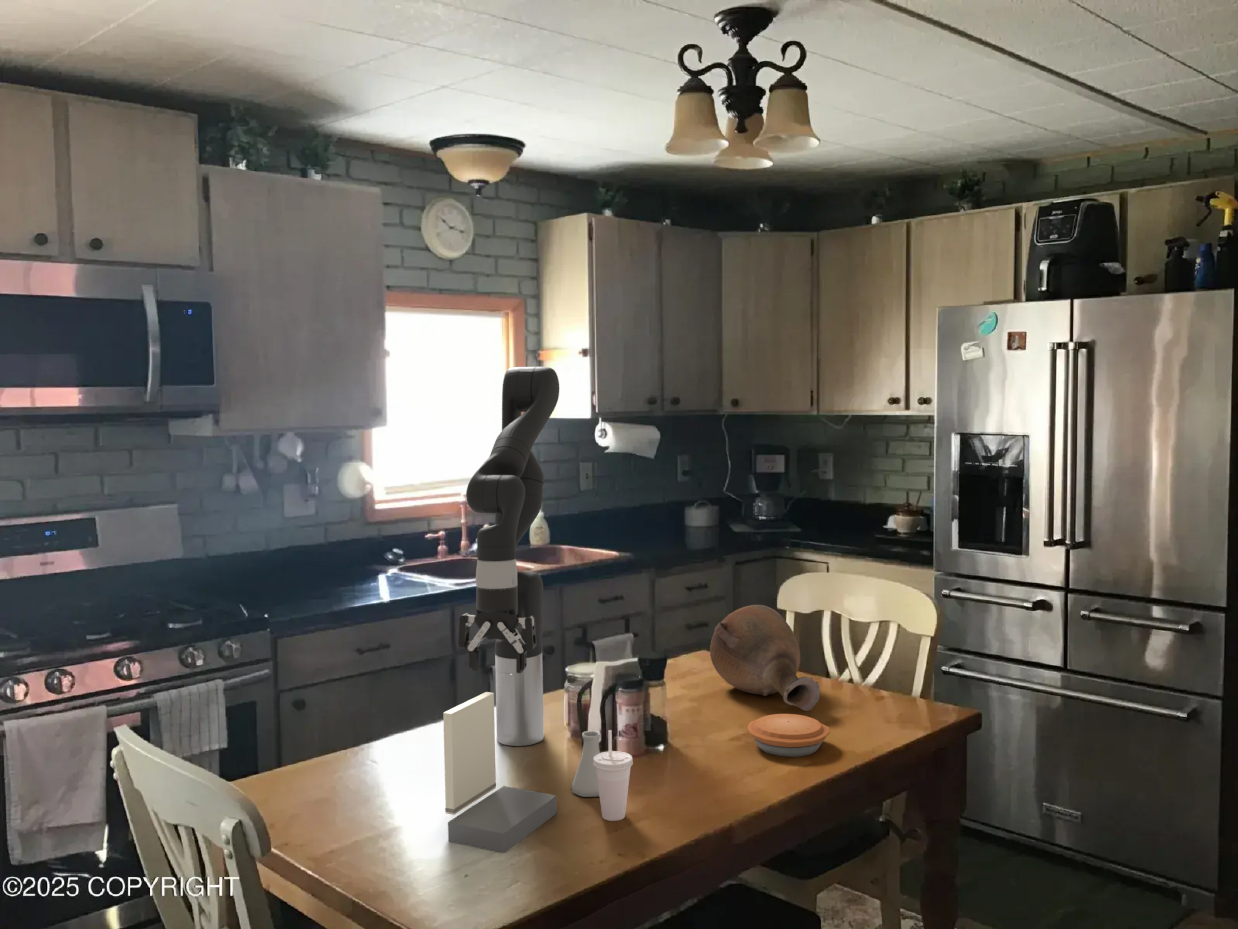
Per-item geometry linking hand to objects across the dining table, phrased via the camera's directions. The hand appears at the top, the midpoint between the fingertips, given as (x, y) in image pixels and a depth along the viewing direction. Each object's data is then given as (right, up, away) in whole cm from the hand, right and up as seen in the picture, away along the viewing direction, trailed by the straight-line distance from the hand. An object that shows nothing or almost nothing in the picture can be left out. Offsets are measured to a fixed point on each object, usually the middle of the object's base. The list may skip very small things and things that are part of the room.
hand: (497, 671), depth 193 cm
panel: (-1, -16, -25) cm, 29 cm away
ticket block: (+4, -19, -27) cm, 33 cm away
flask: (+18, -18, -12) cm, 28 cm away
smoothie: (+21, -19, -23) cm, 37 cm away
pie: (+55, -16, +8) cm, 58 cm away
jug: (+55, -14, +40) cm, 70 cm away
